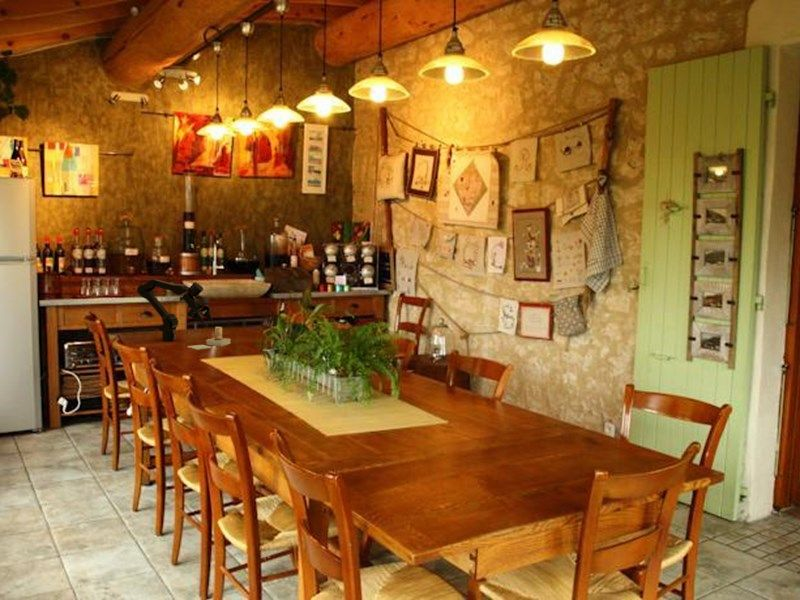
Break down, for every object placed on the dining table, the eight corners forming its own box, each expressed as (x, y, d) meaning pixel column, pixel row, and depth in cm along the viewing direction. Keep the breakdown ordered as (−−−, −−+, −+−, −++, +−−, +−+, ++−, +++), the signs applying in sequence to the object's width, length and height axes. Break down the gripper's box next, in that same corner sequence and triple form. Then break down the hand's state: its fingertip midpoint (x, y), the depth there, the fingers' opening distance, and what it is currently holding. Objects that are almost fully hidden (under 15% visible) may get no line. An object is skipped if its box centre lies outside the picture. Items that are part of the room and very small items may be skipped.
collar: (206, 344, 453) (206, 339, 453) (215, 342, 463) (215, 337, 463) (221, 346, 450) (221, 341, 450) (230, 343, 460) (230, 338, 460)
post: (213, 344, 455) (213, 327, 454) (217, 343, 459) (217, 326, 458) (219, 345, 454) (219, 328, 453) (223, 344, 458) (223, 327, 457)
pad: (187, 347, 443) (187, 346, 443) (202, 345, 450) (202, 344, 450) (196, 349, 436) (196, 348, 436) (212, 348, 443) (212, 347, 443)
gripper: (191, 294, 448) (208, 314, 446) (208, 291, 466) (225, 311, 464) (179, 307, 451) (196, 327, 449) (196, 304, 469) (213, 323, 467)
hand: (208, 321), depth 457 cm, fingers open, 9 cm apart
